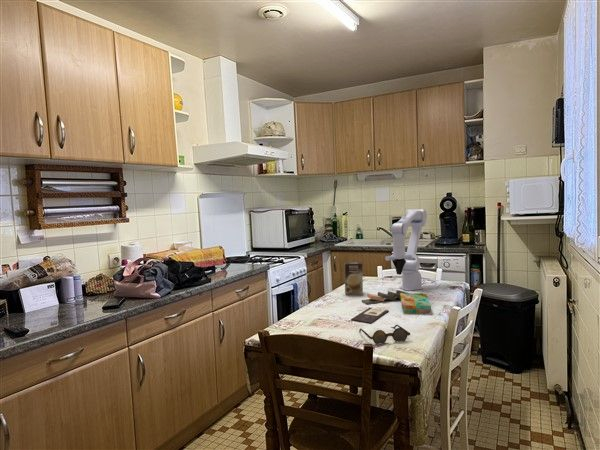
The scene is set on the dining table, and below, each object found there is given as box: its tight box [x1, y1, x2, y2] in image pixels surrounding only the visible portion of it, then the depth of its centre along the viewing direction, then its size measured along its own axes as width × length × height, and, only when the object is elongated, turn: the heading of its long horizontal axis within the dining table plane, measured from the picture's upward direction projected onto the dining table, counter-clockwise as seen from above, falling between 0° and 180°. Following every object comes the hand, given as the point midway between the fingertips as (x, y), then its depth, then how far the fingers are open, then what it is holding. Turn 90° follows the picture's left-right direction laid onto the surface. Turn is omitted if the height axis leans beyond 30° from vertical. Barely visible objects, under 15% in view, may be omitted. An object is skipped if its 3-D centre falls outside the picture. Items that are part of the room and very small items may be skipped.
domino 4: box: [386, 290, 401, 300], centre depth 188 cm, size 2×5×7 cm
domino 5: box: [395, 289, 408, 294], centre depth 189 cm, size 2×5×7 cm
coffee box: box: [344, 261, 364, 296], centre depth 201 cm, size 9×6×16 cm
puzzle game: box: [399, 292, 432, 314], centre depth 174 cm, size 12×5×20 cm
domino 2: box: [366, 292, 385, 302], centre depth 186 cm, size 2×5×7 cm
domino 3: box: [377, 291, 397, 302], centre depth 187 cm, size 2×5×7 cm
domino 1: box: [361, 298, 381, 305], centre depth 184 cm, size 2×5×7 cm
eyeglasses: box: [358, 324, 411, 345], centre depth 142 cm, size 15×15×5 cm
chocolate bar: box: [350, 307, 390, 325], centre depth 164 cm, size 9×1×18 cm
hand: (399, 274), depth 195 cm, fingers closed
